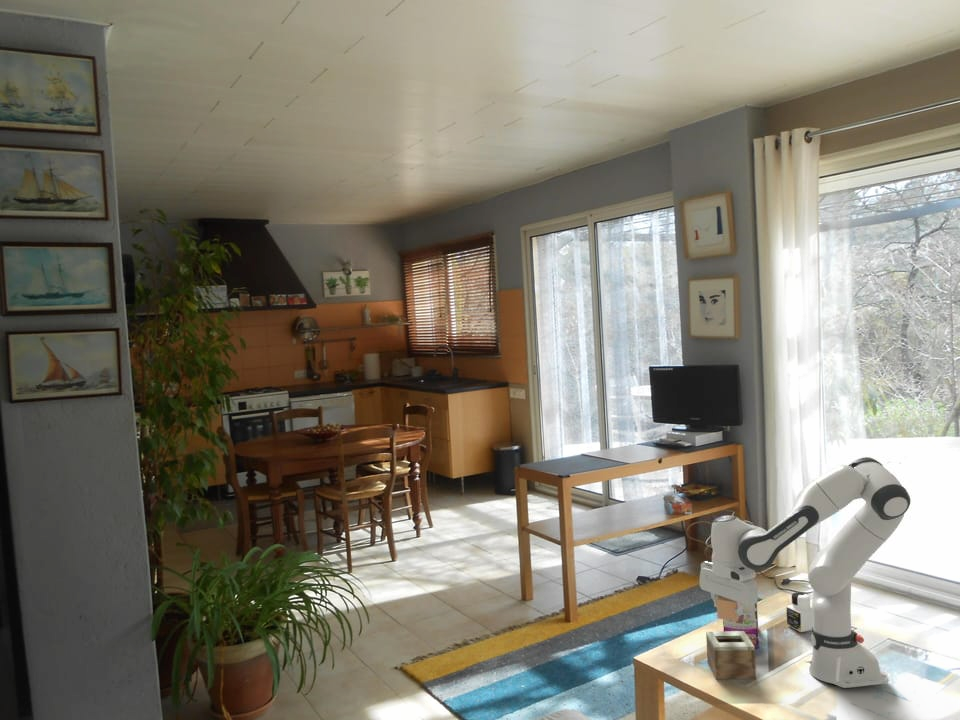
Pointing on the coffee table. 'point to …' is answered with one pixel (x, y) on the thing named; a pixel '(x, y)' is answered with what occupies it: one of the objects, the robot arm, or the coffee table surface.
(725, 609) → the block
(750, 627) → the candy bar box
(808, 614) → the medicine bottle
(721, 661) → the drop box
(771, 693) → the coffee table surface
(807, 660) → the coffee table surface
